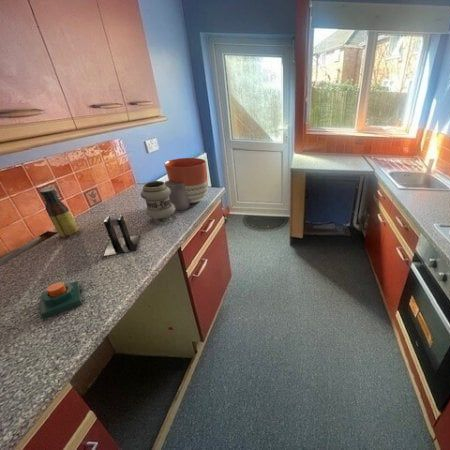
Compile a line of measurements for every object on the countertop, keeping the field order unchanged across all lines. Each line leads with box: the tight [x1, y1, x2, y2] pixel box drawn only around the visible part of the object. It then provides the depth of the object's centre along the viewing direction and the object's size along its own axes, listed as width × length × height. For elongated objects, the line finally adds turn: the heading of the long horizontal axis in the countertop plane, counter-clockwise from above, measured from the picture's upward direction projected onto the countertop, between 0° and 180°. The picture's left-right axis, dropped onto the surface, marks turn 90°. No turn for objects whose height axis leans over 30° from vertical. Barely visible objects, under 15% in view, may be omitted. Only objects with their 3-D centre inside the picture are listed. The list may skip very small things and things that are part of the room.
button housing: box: [39, 280, 83, 320], centre depth 70 cm, size 10×8×4 cm
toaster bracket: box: [103, 214, 141, 257], centre depth 92 cm, size 12×10×13 cm
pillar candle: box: [164, 180, 191, 212], centre depth 125 cm, size 10×10×15 cm
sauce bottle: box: [39, 187, 80, 239], centre depth 96 cm, size 6×6×20 cm
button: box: [45, 281, 67, 297], centre depth 68 cm, size 4×4×2 cm
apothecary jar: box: [140, 180, 176, 223], centre depth 111 cm, size 12×12×18 cm
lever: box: [110, 217, 130, 227], centre depth 95 cm, size 14×4×4 cm, turn 24°
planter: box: [164, 157, 209, 204], centre depth 131 cm, size 20×20×21 cm
